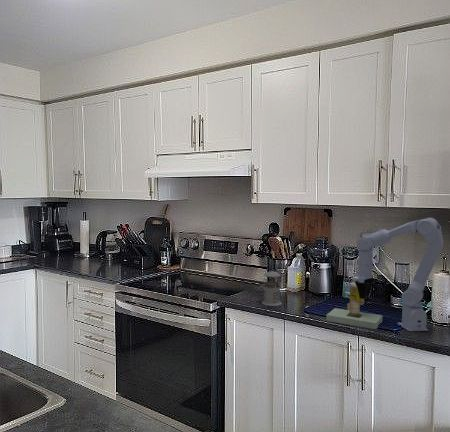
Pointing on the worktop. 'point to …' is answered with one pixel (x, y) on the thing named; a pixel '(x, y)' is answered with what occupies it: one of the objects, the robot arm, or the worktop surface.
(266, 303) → the french press
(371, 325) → the hole board
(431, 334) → the worktop surface
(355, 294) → the supplement bottle
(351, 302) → the tall dowel
